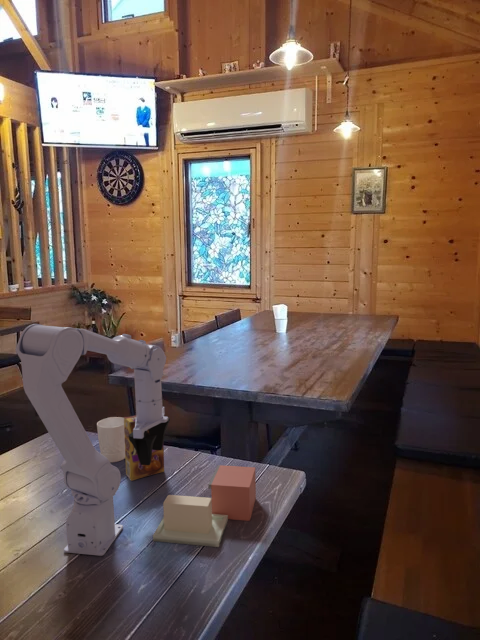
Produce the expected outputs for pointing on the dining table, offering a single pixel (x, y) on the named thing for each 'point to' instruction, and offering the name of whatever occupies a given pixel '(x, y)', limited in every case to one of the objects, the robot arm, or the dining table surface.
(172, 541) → the plate
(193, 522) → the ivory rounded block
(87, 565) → the dining table surface
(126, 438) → the candy box
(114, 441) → the white cup
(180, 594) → the dining table surface
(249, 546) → the dining table surface
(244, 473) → the coral matte cube
